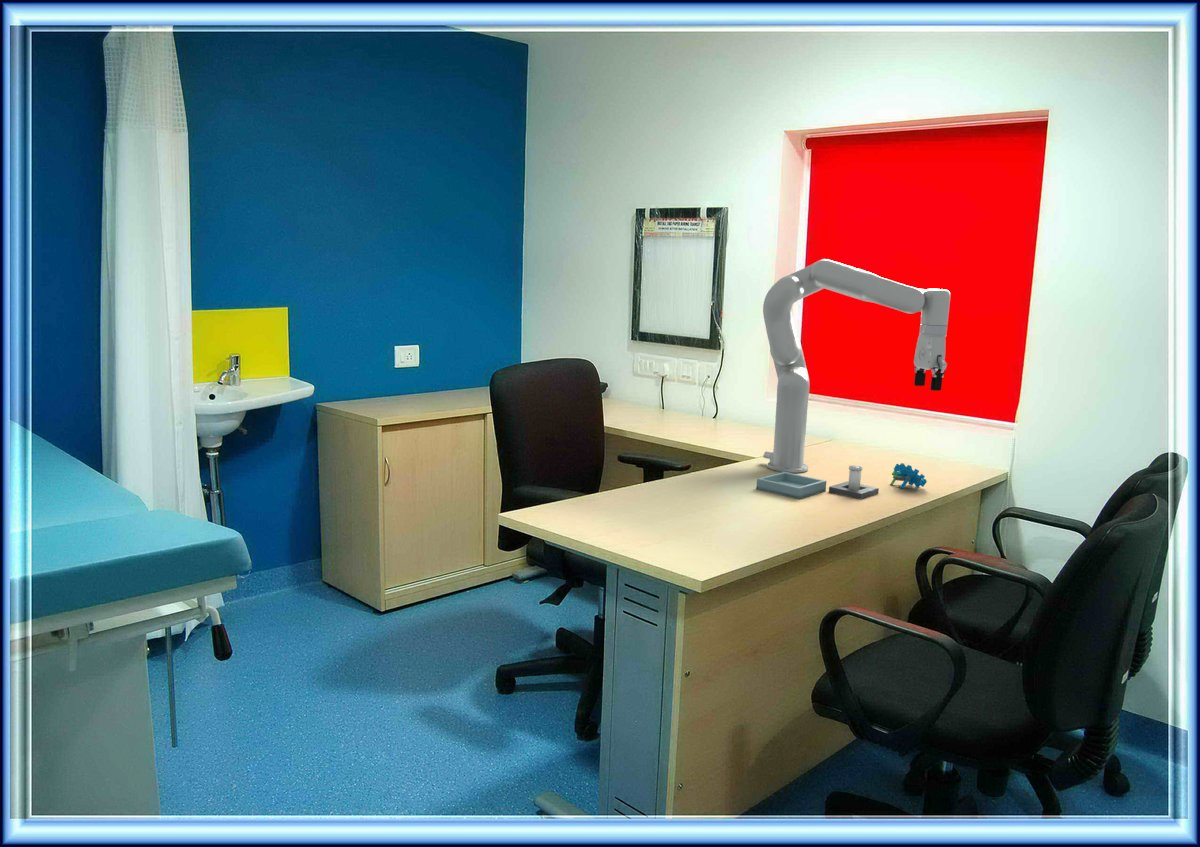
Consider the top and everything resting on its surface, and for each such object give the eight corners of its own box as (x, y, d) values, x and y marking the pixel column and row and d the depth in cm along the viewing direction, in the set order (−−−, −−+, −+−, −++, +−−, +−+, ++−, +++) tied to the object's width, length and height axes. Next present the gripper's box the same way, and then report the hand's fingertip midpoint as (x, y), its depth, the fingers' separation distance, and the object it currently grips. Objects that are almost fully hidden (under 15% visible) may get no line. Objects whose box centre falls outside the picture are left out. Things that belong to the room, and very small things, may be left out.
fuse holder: (828, 491, 254) (829, 486, 254) (846, 486, 261) (847, 481, 261) (860, 498, 247) (861, 493, 247) (878, 493, 254) (878, 488, 254)
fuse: (844, 492, 254) (846, 466, 253) (851, 490, 257) (853, 464, 256) (856, 494, 252) (858, 468, 251) (862, 492, 254) (864, 467, 253)
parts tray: (756, 489, 255) (757, 478, 254) (783, 481, 265) (784, 471, 264) (798, 499, 245) (799, 488, 245) (825, 491, 255) (826, 480, 254)
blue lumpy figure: (934, 485, 260) (916, 462, 256) (923, 500, 258) (905, 478, 254) (904, 481, 269) (887, 459, 266) (894, 496, 268) (877, 475, 264)
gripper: (907, 328, 274) (901, 383, 277) (936, 333, 257) (930, 392, 260) (930, 329, 275) (924, 384, 278) (960, 333, 258) (954, 392, 261)
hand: (927, 388), depth 269 cm, fingers open, 9 cm apart
